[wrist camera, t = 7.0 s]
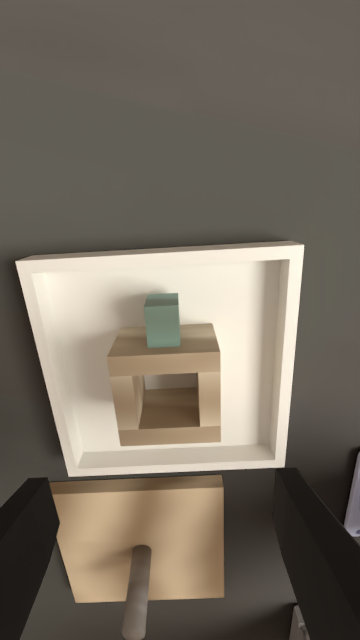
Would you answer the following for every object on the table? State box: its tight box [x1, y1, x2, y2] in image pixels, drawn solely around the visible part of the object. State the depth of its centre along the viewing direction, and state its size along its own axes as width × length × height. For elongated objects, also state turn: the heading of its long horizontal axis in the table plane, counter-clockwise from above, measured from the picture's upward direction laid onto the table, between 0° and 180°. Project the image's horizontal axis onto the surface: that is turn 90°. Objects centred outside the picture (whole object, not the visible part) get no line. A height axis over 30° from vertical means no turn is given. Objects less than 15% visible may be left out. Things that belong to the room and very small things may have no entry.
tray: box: [15, 241, 304, 477], centre depth 17 cm, size 13×13×2 cm
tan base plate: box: [49, 475, 224, 640], centre depth 20 cm, size 12×12×6 cm
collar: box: [107, 293, 221, 446], centre depth 15 cm, size 7×5×3 cm
